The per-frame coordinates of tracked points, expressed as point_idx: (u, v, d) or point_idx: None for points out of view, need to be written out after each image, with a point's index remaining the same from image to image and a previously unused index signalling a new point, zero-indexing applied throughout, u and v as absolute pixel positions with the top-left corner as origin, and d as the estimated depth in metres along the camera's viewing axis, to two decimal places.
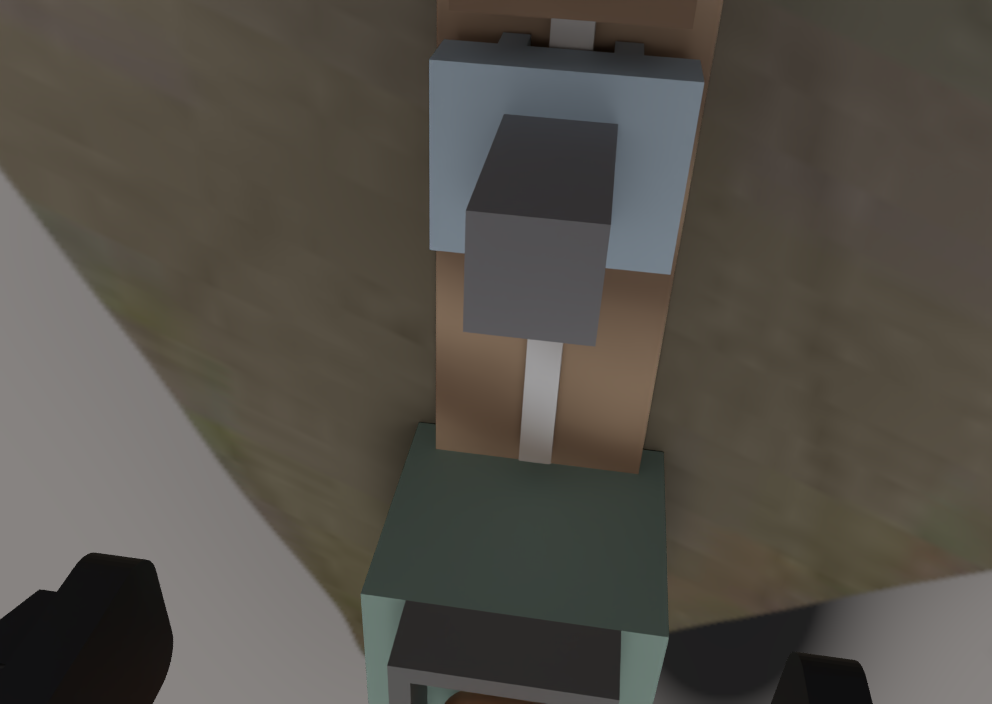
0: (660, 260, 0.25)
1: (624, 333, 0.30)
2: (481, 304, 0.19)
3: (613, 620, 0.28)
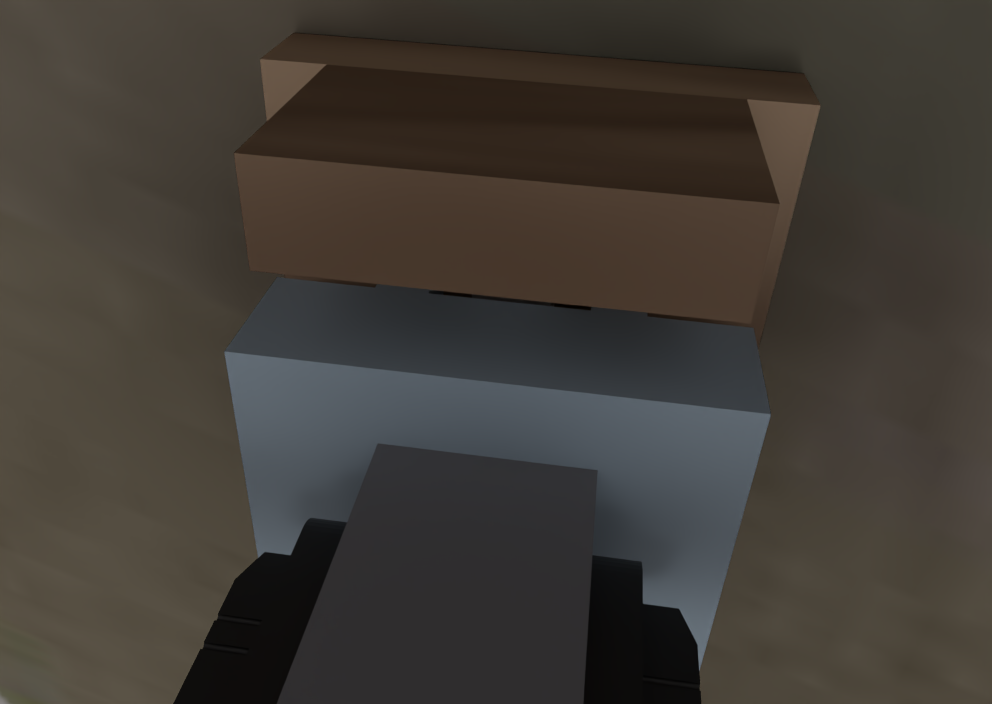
0: None
1: None
2: None
3: None
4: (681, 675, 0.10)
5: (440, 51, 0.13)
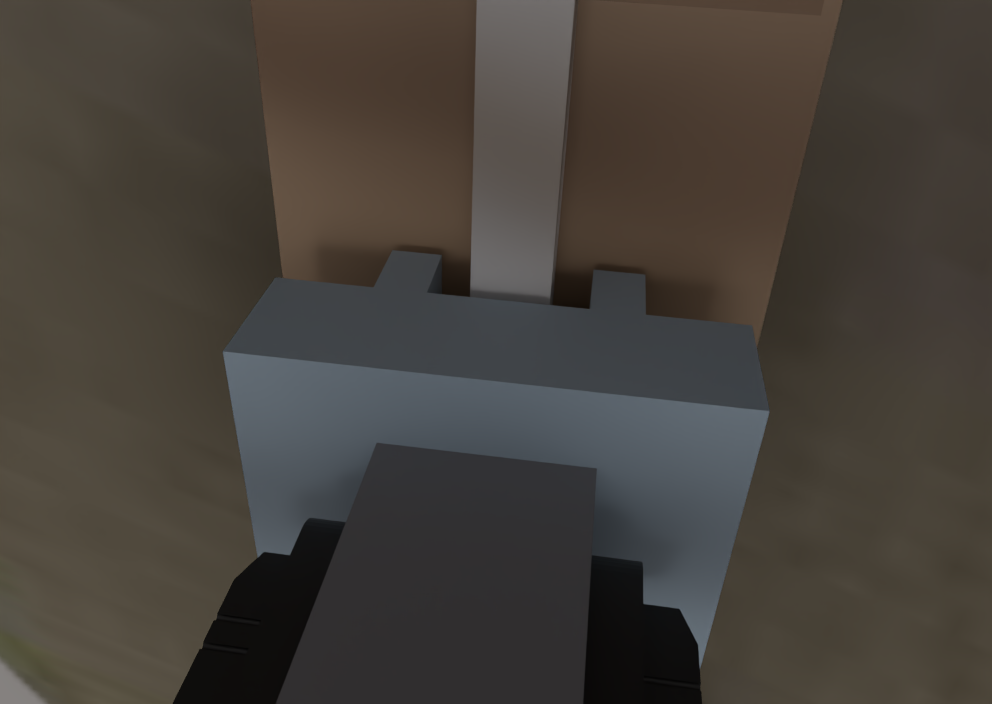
0: None
1: None
2: None
3: None
4: (682, 675, 0.10)
5: None
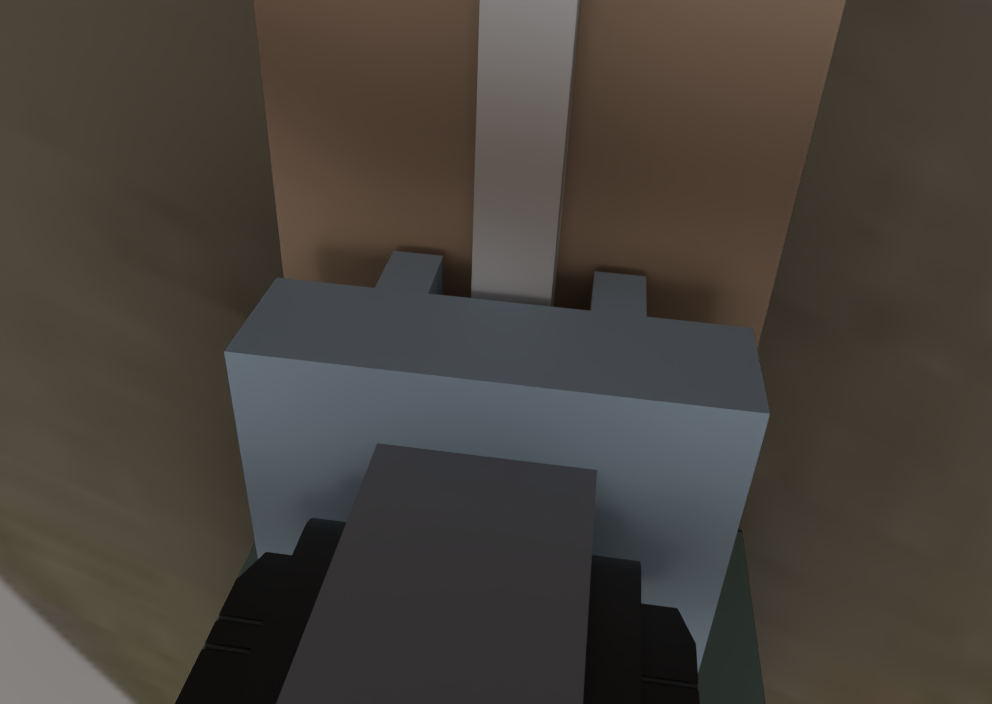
0: None
1: (683, 298, 0.14)
2: None
3: None
4: (679, 675, 0.10)
5: None
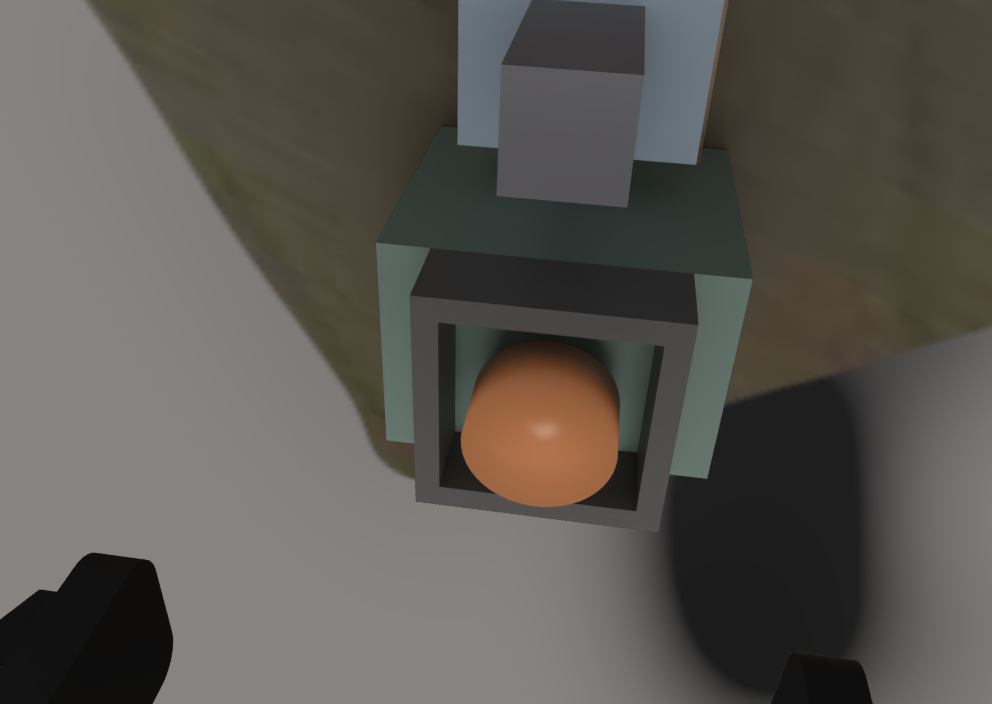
0: (686, 150, 0.25)
1: None
2: (515, 165, 0.20)
3: (684, 266, 0.23)
4: None
5: None
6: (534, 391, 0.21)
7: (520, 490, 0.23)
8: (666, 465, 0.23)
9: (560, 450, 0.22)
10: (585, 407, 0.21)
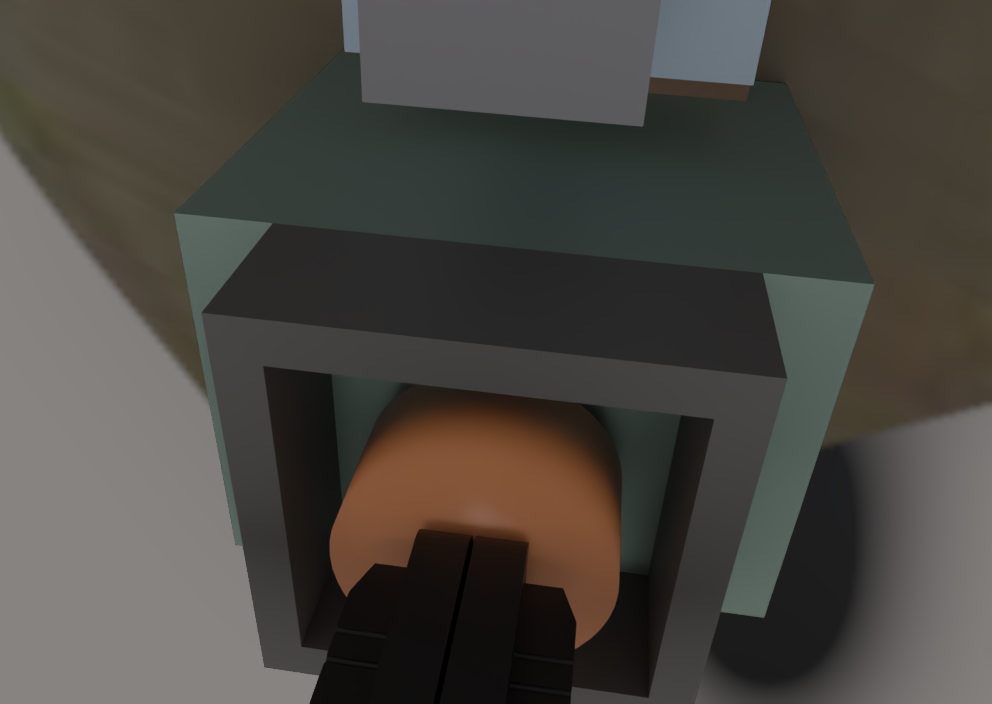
0: (737, 58, 0.14)
1: None
2: (397, 30, 0.09)
3: (741, 259, 0.12)
4: (556, 652, 0.10)
5: None
6: (460, 473, 0.11)
7: None
8: (706, 628, 0.13)
9: None
10: (558, 503, 0.11)
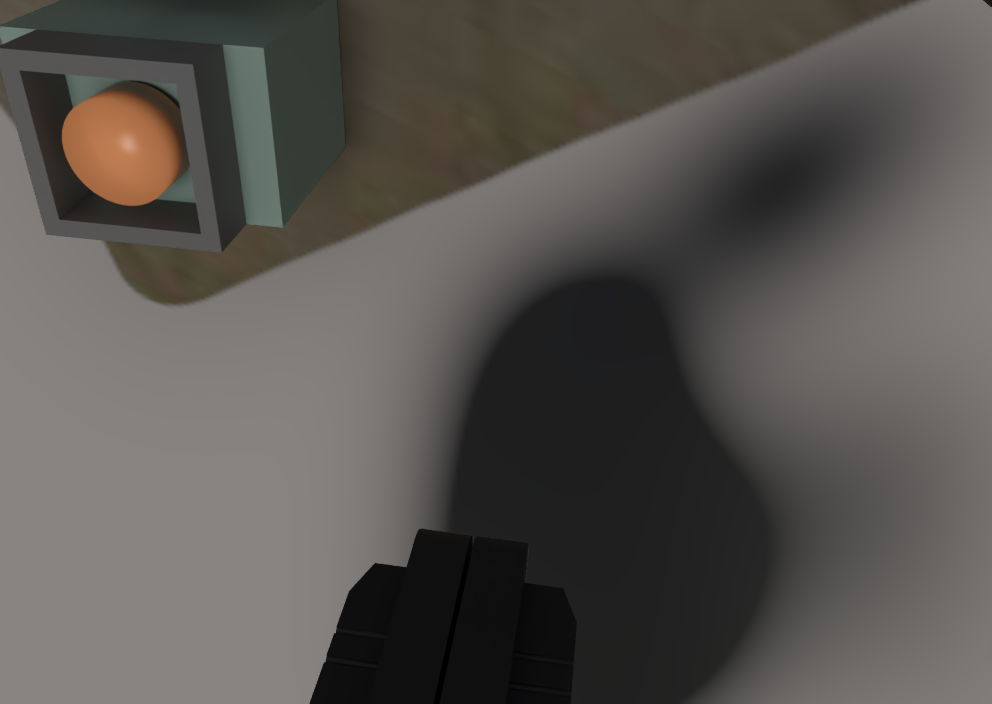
0: None
1: None
2: None
3: (219, 41, 0.31)
4: (557, 652, 0.10)
5: None
6: (100, 103, 0.30)
7: (114, 191, 0.32)
8: (209, 190, 0.31)
9: (130, 153, 0.31)
10: (136, 115, 0.30)
